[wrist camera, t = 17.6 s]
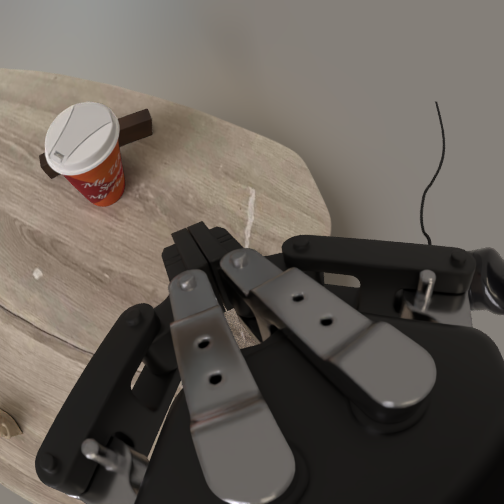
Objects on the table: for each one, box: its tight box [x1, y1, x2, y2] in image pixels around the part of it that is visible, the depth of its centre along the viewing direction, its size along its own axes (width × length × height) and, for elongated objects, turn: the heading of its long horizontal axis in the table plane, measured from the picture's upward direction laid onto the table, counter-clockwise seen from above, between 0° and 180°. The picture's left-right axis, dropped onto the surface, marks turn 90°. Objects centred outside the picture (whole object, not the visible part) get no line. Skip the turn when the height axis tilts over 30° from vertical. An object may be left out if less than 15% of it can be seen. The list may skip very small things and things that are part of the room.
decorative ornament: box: [0, 409, 23, 439], centre depth 18 cm, size 4×8×5 cm, turn 98°
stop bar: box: [39, 109, 152, 179], centre depth 30 cm, size 16×2×4 cm, turn 116°
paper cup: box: [45, 102, 125, 206], centre depth 25 cm, size 8×8×14 cm
